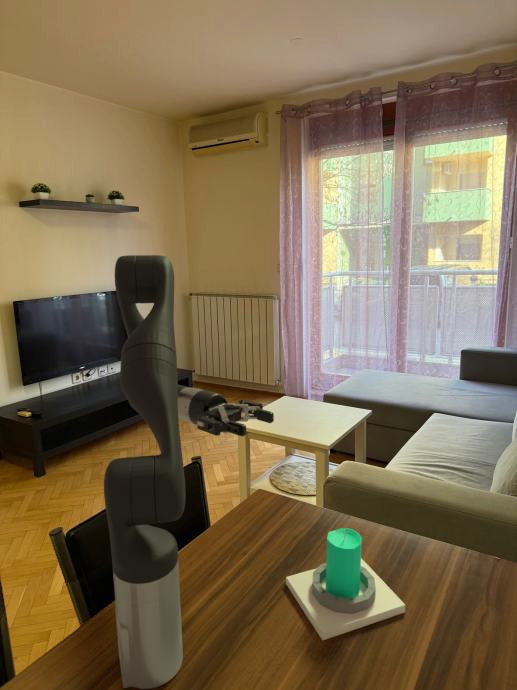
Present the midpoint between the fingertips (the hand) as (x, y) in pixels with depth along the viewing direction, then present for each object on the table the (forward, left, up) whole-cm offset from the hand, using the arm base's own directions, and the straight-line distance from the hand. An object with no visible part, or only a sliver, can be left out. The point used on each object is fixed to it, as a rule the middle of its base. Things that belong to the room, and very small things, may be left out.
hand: (259, 424), depth 93 cm
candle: (+9, -17, -27) cm, 33 cm away
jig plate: (+9, -17, -28) cm, 34 cm away
